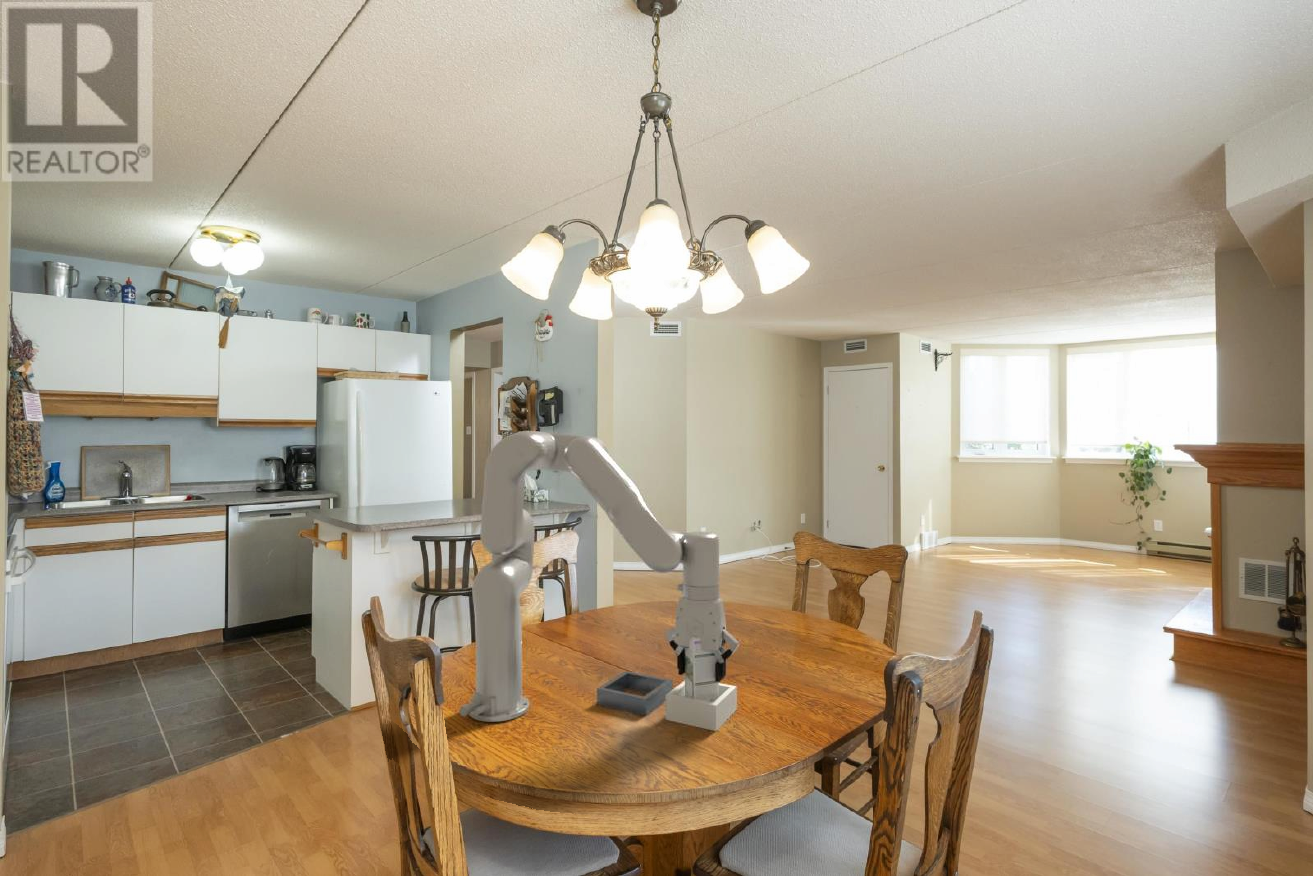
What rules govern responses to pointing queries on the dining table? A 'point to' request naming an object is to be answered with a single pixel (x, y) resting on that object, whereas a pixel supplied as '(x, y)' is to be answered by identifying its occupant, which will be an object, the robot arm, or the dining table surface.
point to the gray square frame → (627, 702)
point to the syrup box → (700, 672)
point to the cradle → (701, 707)
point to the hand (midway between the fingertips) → (701, 676)
